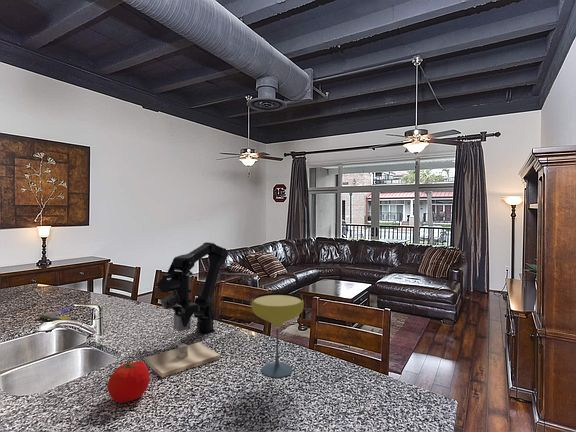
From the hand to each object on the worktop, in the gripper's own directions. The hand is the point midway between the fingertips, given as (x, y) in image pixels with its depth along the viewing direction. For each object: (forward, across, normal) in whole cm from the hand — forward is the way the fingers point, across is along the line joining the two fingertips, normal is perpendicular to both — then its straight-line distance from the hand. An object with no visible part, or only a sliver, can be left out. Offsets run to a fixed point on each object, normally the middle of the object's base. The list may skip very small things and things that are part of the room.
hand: (182, 324), depth 144 cm
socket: (+2, 0, 0) cm, 2 cm away
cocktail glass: (+8, +44, +14) cm, 47 cm away
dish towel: (+8, -73, -26) cm, 78 cm away
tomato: (+8, +28, -30) cm, 42 cm away
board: (+8, +15, -7) cm, 18 cm away
